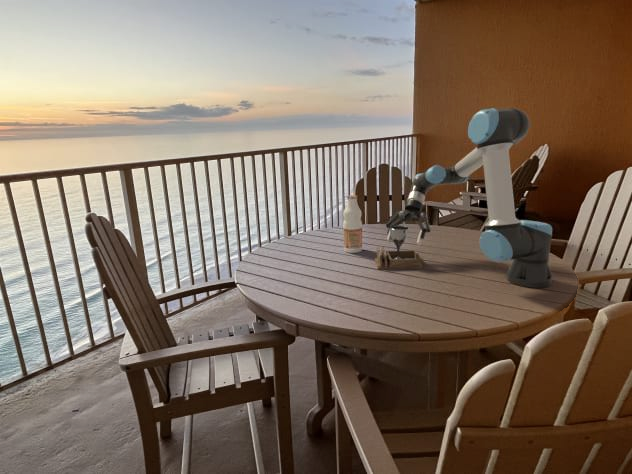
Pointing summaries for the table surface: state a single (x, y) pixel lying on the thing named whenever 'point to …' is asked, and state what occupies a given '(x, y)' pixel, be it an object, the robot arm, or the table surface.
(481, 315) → the table surface
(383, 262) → the wooden tray
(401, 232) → the silver goblet
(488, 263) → the table surface
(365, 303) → the table surface
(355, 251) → the fruit juice
